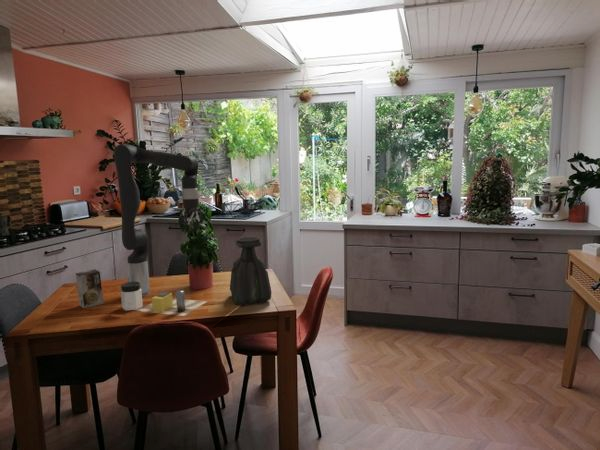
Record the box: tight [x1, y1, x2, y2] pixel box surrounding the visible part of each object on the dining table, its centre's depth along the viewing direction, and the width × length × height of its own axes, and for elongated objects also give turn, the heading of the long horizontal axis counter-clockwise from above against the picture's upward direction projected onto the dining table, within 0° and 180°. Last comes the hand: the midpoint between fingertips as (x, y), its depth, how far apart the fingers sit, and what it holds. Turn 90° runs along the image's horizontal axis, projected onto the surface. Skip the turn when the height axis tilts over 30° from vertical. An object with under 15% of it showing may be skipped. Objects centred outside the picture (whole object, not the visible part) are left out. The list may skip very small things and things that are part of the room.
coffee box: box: [75, 268, 104, 309], centre depth 204 cm, size 9×6×16 cm
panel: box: [136, 297, 207, 317], centre depth 197 cm, size 25×19×1 cm
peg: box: [175, 289, 186, 312], centre depth 190 cm, size 4×4×9 cm
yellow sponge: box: [151, 291, 173, 312], centre depth 194 cm, size 5×8×6 cm, turn 162°
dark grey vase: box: [229, 236, 272, 307], centre depth 203 cm, size 18×16×30 cm
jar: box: [120, 281, 144, 311], centre depth 196 cm, size 9×8×12 cm
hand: (192, 230), depth 209 cm, fingers open, 8 cm apart
